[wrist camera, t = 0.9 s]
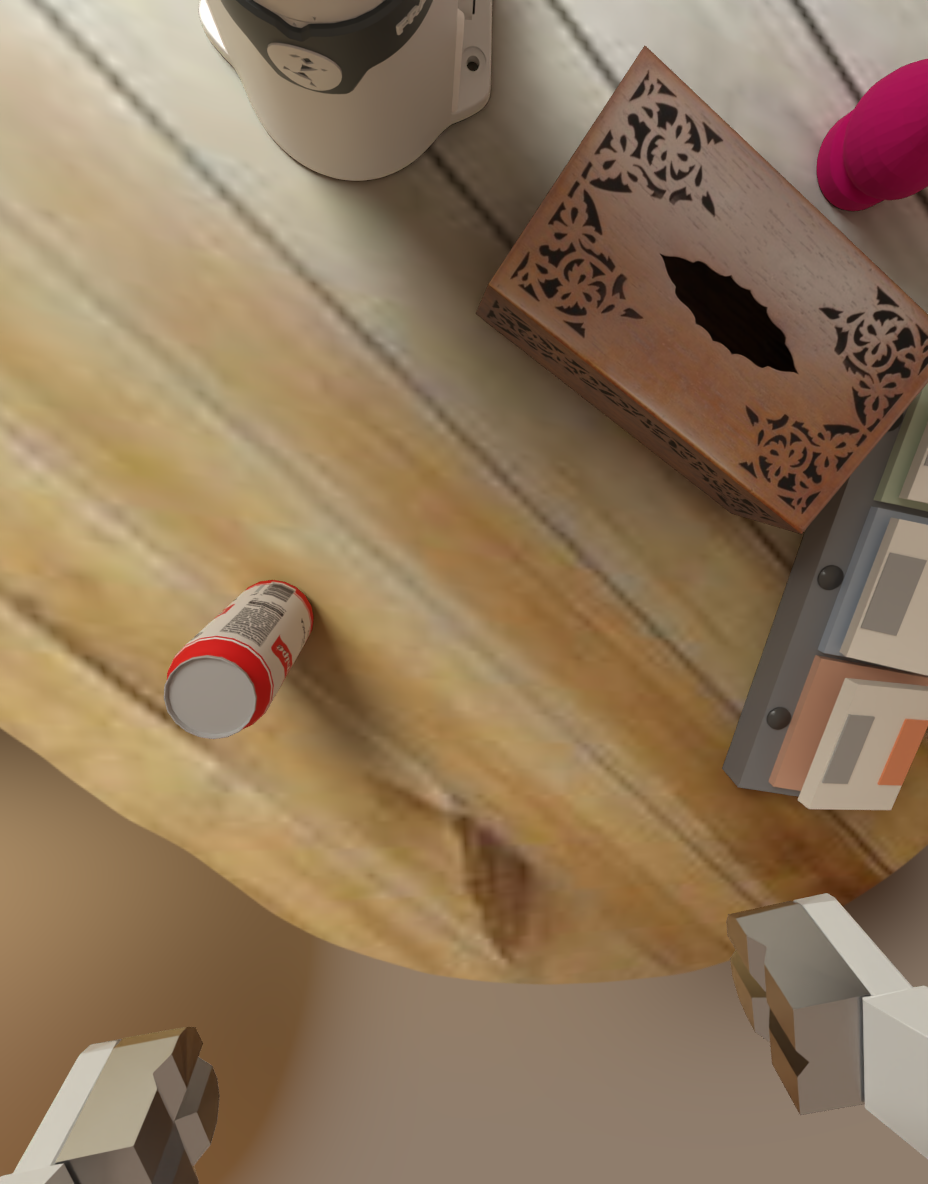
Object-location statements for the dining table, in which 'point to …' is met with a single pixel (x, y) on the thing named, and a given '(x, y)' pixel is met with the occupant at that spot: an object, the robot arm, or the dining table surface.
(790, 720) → the gray rocker switch panel
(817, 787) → the cream patched switch plate
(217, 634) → the beer can
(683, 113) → the tissue box cover
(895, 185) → the pepper mill
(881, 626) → the cream rectangular plate
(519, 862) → the dining table surface
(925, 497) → the cream two-patch switch cover
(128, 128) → the dining table surface
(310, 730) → the dining table surface
